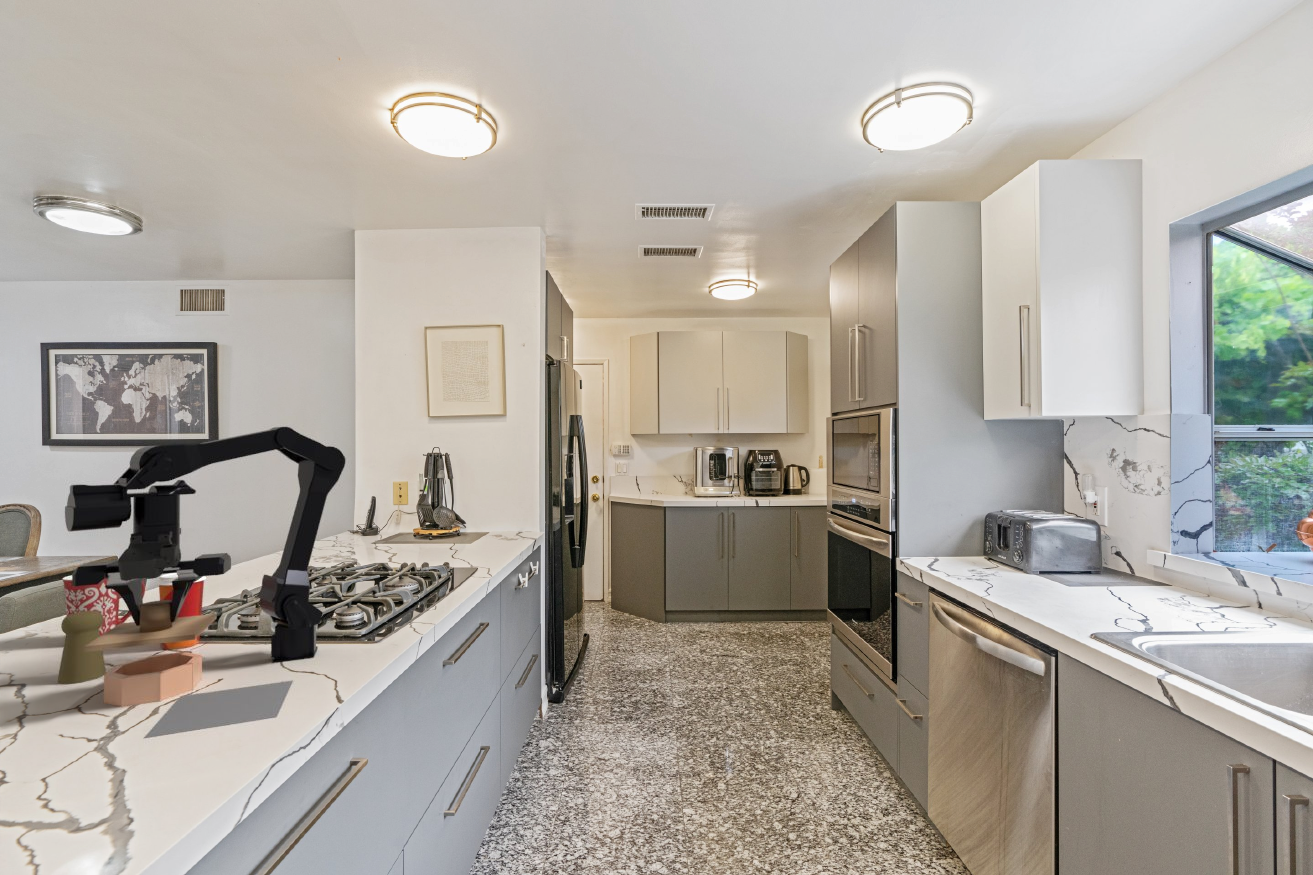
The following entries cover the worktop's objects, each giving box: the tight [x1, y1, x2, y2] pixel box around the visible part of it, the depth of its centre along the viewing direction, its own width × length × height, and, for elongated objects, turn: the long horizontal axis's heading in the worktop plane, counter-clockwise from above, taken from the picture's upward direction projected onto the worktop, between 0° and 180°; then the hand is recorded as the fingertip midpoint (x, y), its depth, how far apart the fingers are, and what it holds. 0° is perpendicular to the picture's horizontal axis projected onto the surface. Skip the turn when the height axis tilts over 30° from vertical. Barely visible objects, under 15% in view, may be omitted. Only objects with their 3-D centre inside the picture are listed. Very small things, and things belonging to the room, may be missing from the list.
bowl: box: [103, 651, 203, 708], centre depth 96 cm, size 11×11×4 cm
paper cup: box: [156, 573, 207, 651], centre depth 120 cm, size 8×8×14 cm
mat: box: [143, 680, 294, 739], centre depth 89 cm, size 15×15×1 cm
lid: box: [84, 599, 217, 652], centre depth 96 cm, size 13×13×5 cm
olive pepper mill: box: [57, 611, 107, 685], centre depth 103 cm, size 6×6×11 cm
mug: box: [61, 574, 146, 636], centre depth 125 cm, size 13×9×14 cm
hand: (156, 623), depth 96 cm, fingers closed on lid, 4 cm apart
